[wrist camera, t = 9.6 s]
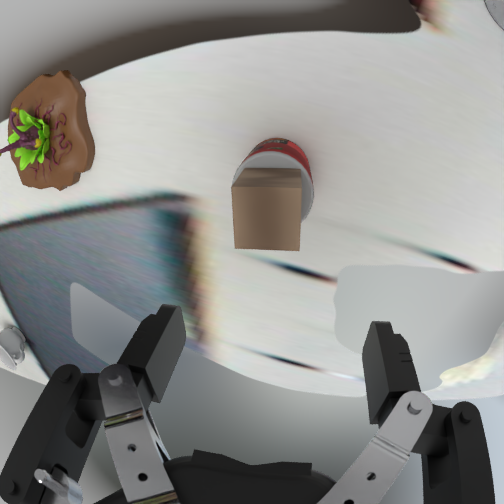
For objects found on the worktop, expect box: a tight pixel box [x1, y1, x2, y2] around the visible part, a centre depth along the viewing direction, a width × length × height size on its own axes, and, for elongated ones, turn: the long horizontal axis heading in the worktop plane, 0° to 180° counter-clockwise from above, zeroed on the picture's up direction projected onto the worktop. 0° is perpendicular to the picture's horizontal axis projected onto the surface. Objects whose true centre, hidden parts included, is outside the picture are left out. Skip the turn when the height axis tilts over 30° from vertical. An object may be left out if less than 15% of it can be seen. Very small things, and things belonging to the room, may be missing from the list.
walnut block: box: [231, 168, 302, 251], centre depth 25 cm, size 5×5×6 cm
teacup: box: [0, 327, 25, 370], centre depth 64 cm, size 12×15×10 cm
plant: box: [0, 70, 95, 191], centre depth 33 cm, size 20×20×11 cm
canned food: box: [232, 138, 314, 223], centre depth 32 cm, size 8×8×11 cm
